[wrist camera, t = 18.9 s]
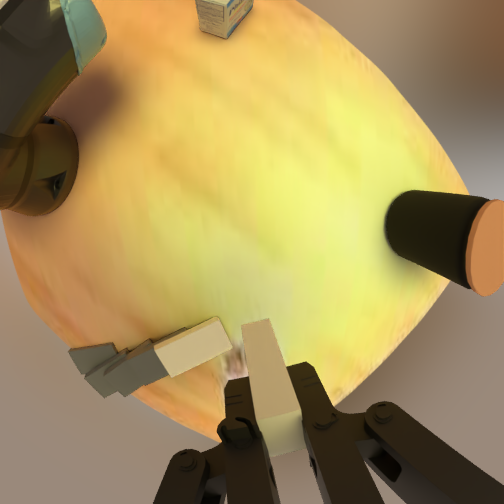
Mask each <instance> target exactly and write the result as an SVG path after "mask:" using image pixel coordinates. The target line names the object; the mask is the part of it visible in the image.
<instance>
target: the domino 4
mask: <svg viewBox="0 0 504 504" xmlns="http://www.w3.org/2000/svg"><path fill="white" fill-rule="evenodd" d="M184 331H186V328H185V327H184V328H182V329H180V330H178V331H176V332H174V333H172V334H170V335H168V336H166V337H164V338H162V339H160V340H158V341H156V342H154V343H152V344H150V345H148V346H146V347H144V348H142V349H140V350H138V351H136V352H134V353H132V354H130V355H128V356H127V362H128V363H129V364H130V366H131V367H132V369H133V370H134V371H135V373H136V374H137V376H138V377H139V378H140V380H141V381H142V382H143V384H144V385H145V386H146V385H148V384H150V383H152V382H155V381H157V380H159V379H161V378H163V377H165V376H167V375H169V373H168V372H167V370H166V368H165V367H164V365H163V364H162V362H161V361H160V359H159V357H158V356H157V354H156V352H155V351H154V345H156V344H159V343H161V342H163V341H165V340H167V339H169V338H172V337H174V336H176V335H178V334H180V333H182V332H184Z"/></svg>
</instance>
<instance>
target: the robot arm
mask: <svg viewBox="0 0 504 504" xmlns="http://www.w3.org/2000/svg"><path fill="white" fill-rule="evenodd" d="M106 38H107V32H106V28H105V25H104V22H103V20H102V18H101V16H100V14H99V12H98V10H97V9H96V7H95V5H94V4H93V2H92V1H91V0H0V210H3V209H9V210H12V211H15V212H18V213H21V214H24V215H27V216H38V215H43V214H47V213H50V212H51V211H53V210H55V209H56V208H57V207H58V206H59V205H60V204H61V203H62V202H63V201H64V200H65V198H66V197H67V195H68V194H69V192H70V190H71V188H72V185H73V183H74V180H75V177H76V173H77V167H78V145H77V140H76V137H75V134H74V132H73V130H72V129H71V127H70V126H69V125H68V124H67V123H66V122H65V121H63V120H61V119H59V118H56V117H53V116H46V115H44V114H45V113H46V112H47V110H48V109H49V108H50V106H51V105H52V104H53V103H54V102H55V100H56V99H57V98H58V97H59V96H60V94H61V93H62V92H63V91H64V90H65V89H66V87H67V86H68V85H69V84H70V83H71V82H72V81H73V80H74V79H75V78H76V77H77V75H78V76H79V75H80V74H81V73H82V71H83V68H84V67H85V66H86V65H87V64H88V63H89V62H90V61H91V60H92V59H93V58H94V57H95V56H96V55H97V54H98V53H99V52H100V51H101V49H102V48H103V47H104V45H105V42H106ZM43 115H44V116H43ZM241 328H242V335H243V341H244V348H245V354H246V361H247V367H248V374H249V376H248V377H244V378H239V379H234V380H229V381H228V383H227V385H226V387H225V389H224V393H225V413H226V418H225V419H224V420H222V421H221V422H220V424H219V425H218V428H217V433H218V435H219V437H220V439H221V440H222V442H221V443H220V444H219V445H218V446H216V447H214V448H212V449H209V450H207V451H204V452H202V453H200V452H199V451H197V450H193V449H185V450H182V451H179V452H178V453H176V454H175V455H173V457H172V459H171V460H170V463H169V465H168V467H167V470H166V472H165V475H164V477H163V480H162V482H161V485H160V487H159V489H158V492H157V494H156V497H155V500H154V502H153V504H224V501H225V497H226V493H227V502H228V504H280V499H279V495H278V491H277V486H276V481H275V477H274V472H273V468H272V465H271V462H270V457H273V456H277V455H282V454H285V453H290V452H294V451H298V450H302V449H305V448H307V450H308V453H309V459H310V466H311V467H312V469H313V472H314V475H315V478H316V480H317V484H318V486H319V490H320V493H321V495H322V499H323V502H324V504H385V503H384V501H383V500H382V497H381V495H380V493H379V491H378V489H377V487H376V485H375V483H374V481H373V479H372V477H371V475H370V472H369V470H368V468H367V466H366V465H365V462H366V463H367V464H368V465H369V466H370V467H371V468H372V470H373V471H374V472H375V473H376V474H377V475H378V476H379V477H380V478H381V479H382V480H383V481H384V482H385V483H386V484H387V485H388V486H389V487H390V488H391V489H392V490H393V491H394V492H395V493H396V494H397V495H398V496H399V497H400V498H401V499H402V500H403V501H404V502H405V503H407V504H504V485H502V484H501V483H499V482H498V481H496V480H495V479H494V478H492V477H491V476H490V475H488V474H487V473H485V472H484V471H483V470H481V469H480V468H478V467H477V466H476V465H474V464H473V463H471V462H470V461H469V460H467V459H466V458H465V457H464V456H462V455H461V454H459V453H458V452H457V451H455V450H454V449H453V448H451V447H450V446H449V445H447V444H446V443H445V442H444V441H442V440H441V439H440V438H438V437H437V436H436V435H434V434H433V433H432V432H431V431H429V430H428V429H427V428H425V427H424V426H423V425H421V424H420V423H419V422H418V421H416V420H415V419H414V418H412V417H411V416H410V415H409V414H407V413H406V412H405V411H403V410H402V409H401V408H400V407H398V406H397V405H396V404H394V403H392V402H387V401H384V402H378V403H376V404H373V405H372V406H370V407H369V408H368V409H367V411H366V412H364V413H356V414H347V413H342V412H340V411H338V410H336V409H335V408H334V407H333V405H332V403H331V401H330V399H329V397H328V395H327V393H326V391H325V389H324V387H323V385H322V383H321V381H320V379H319V377H318V375H317V373H316V371H315V369H314V367H313V366H312V365H310V364H309V363H307V362H302V363H299V364H295V365H291V366H288V367H286V366H285V363H284V360H283V357H282V354H281V351H280V348H279V346H278V343H277V340H276V337H275V334H274V331H273V328H272V326H271V323H270V320H269V319H265V320H261V321H257V322H252V323H248V324H243V325H241ZM364 461H365V462H364Z"/></svg>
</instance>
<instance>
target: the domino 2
mask: <svg viewBox="0 0 504 504" xmlns="http://www.w3.org/2000/svg"><path fill="white" fill-rule="evenodd" d="M129 353H130V352H129V351H128V350H127V349H124V350H122V351H121V352H119V353H118V354H116V355H115V356H113V357H111V358H110V359H108V360H107V361H105V362H103V363H102V364H100V365H99V366H97V367H95V368H94V369H92V370H91V371H89V372H87V373H86V375H85V378H84V379H85V380H87V382H88V383H89V384H90V385H91V386H92V387H93V388H94V389H95V390H96V391H98V393H99V394H101V395H102V396H103V397H104V398H105V397H107V396H109V395H111V394H113V393H115V392H116V391H117V390H116V389H115V388H114V387H113V386H112V385H111V384H110V383H109V382H108V381H107V380H106V379H105V378H104V377H103V374H104V371H105V370H107V369H108V368H110V367H111V366H112V365H114V364H115V363H116V362H118V361H119V360H121V359H122V358H123V357H125V356H126V355H127V354H129Z"/></svg>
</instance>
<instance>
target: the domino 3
mask: <svg viewBox="0 0 504 504" xmlns="http://www.w3.org/2000/svg"><path fill="white" fill-rule="evenodd" d="M152 343H153V342H152V341H151V340H150V339H148V340H147V341H145V342H144V343H142V344H141V345H140V346H138V347H137V348H136V349H134V350H133V351H132V352H130V353H129V354H127V355H126V356H125V357H123V358H122V359H121V360H119V361H118V362H116V363H115V364H114V365H112V366H111V367H110V368H108V369H107V370H105V371H104V374H103V377H104V378H105V379H106V380H107V381H108V382H109V383H110V384H111V385H112V386H113V387H114V388H115V389H116V390H117V391H118V392H120V393H121V394H122V395H123V396H124V397H126V396H128V395H129V394H131V393H132V392H134V391H135V390H137V389H138V388H140V387H141V386H142V385H144V384H143V382H142V381H141V380H140V378H139V377H138V376H137V374H136V373H135V371H134V370H133V369H132V367H131V366H130V364H129V363H128V362H127V356H128V355H130V354H132V353H134V352H136V351H138V350H140V349H142V348H144V347H146V346H148V345H150V344H152Z"/></svg>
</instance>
